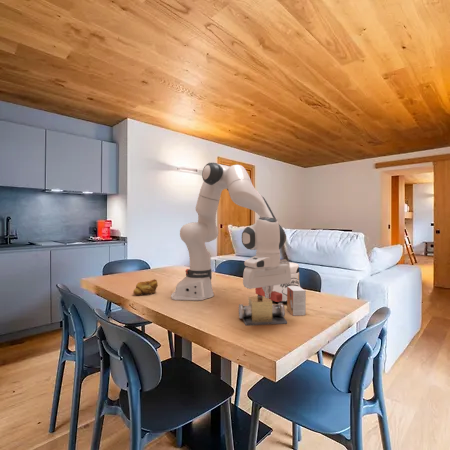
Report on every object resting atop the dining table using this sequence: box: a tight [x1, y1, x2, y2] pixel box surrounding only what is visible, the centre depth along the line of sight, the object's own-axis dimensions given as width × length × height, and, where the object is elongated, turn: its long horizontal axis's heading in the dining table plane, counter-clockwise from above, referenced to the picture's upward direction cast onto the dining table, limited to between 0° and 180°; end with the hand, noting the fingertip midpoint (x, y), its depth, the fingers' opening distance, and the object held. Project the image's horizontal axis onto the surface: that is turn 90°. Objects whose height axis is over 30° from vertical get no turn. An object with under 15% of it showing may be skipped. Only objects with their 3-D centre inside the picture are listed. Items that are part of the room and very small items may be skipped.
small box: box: [286, 286, 307, 316], centre depth 120 cm, size 8×6×10 cm
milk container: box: [271, 261, 301, 304], centre depth 138 cm, size 17×17×18 cm
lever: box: [254, 287, 282, 303], centre depth 108 cm, size 14×4×3 cm, turn 28°
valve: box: [238, 294, 288, 326], centre depth 112 cm, size 18×12×10 cm
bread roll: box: [132, 279, 158, 296], centre depth 153 cm, size 13×10×8 cm
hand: (268, 297), depth 104 cm, fingers closed
